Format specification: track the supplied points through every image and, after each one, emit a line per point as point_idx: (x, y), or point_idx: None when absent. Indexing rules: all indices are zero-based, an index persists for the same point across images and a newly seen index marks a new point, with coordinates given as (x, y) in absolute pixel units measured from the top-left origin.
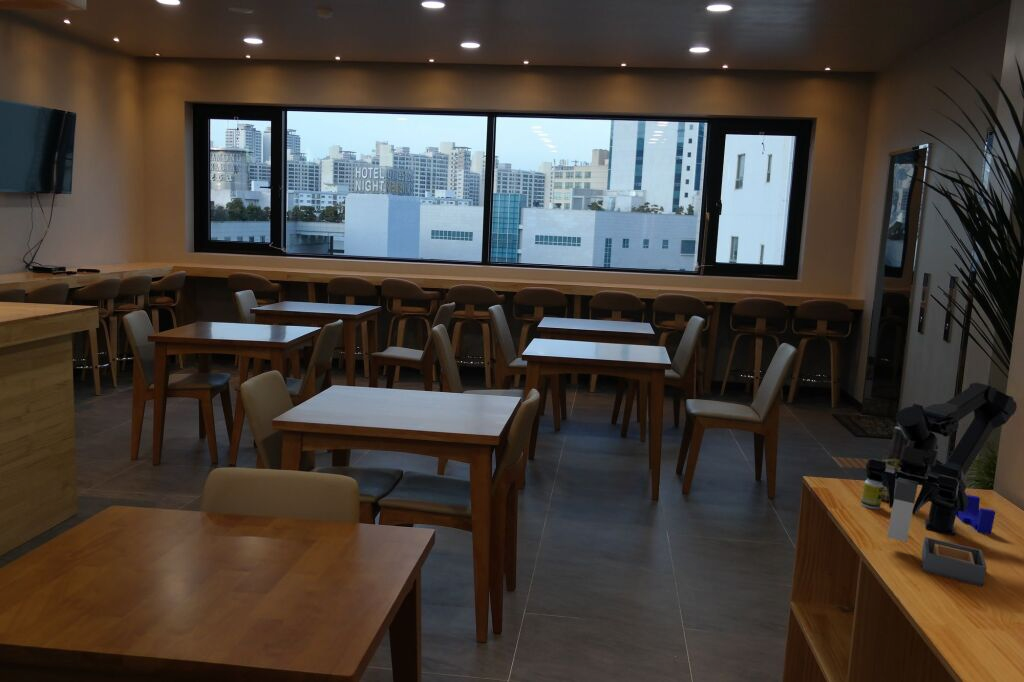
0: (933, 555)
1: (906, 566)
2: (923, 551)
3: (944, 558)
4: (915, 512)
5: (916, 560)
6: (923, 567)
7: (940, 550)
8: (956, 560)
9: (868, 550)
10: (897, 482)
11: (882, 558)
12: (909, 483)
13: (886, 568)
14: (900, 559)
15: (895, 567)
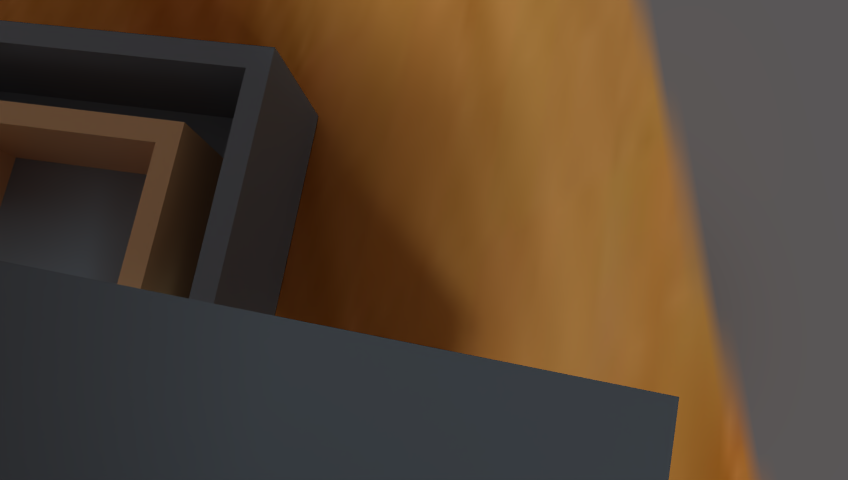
0: (223, 43)
1: (421, 145)
2: None
3: (145, 38)
4: None
5: (313, 322)
6: (309, 114)
7: None
8: (61, 28)
9: (687, 334)
10: (662, 399)
11: (585, 209)
12: (128, 432)
13: (578, 22)
14: (441, 270)
15: (508, 78)
